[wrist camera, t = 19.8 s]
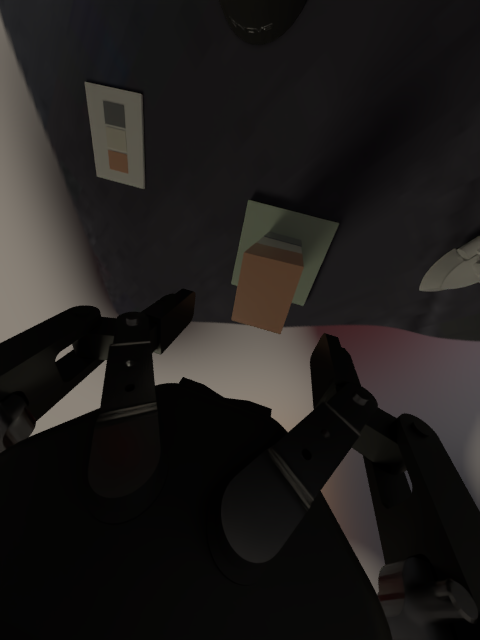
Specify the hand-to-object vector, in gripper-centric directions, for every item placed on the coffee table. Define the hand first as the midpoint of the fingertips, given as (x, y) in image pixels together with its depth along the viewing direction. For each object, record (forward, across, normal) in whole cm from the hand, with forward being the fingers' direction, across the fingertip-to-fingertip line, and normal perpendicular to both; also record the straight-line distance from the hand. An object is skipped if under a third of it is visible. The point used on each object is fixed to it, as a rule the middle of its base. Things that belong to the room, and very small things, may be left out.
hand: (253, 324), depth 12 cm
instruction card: (+21, +26, -9) cm, 35 cm away
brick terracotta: (+10, 0, 0) cm, 10 cm away
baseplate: (+21, 0, 0) cm, 21 cm away
